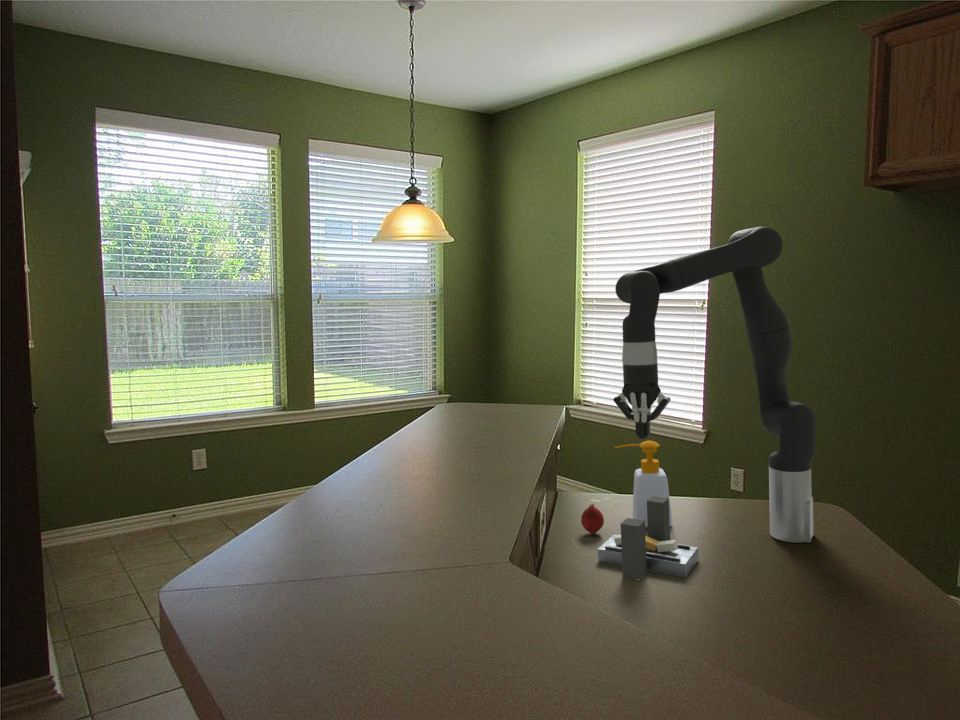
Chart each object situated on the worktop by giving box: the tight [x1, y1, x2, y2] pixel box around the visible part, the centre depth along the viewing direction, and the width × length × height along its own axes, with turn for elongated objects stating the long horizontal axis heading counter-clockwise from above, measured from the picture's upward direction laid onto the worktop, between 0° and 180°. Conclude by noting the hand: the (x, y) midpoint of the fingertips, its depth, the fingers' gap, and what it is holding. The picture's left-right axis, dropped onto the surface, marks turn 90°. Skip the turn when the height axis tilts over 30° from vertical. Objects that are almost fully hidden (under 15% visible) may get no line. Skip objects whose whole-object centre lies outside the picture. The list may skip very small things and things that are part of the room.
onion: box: [580, 503, 605, 535], centre depth 165 cm, size 6×6×8 cm
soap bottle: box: [614, 440, 673, 528], centre depth 170 cm, size 10×14×22 cm
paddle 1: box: [614, 534, 621, 545], centre depth 150 cm, size 4×2×2 cm, turn 56°
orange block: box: [645, 535, 659, 551], centre depth 146 cm, size 4×2×2 cm, turn 57°
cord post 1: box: [620, 517, 648, 581], centre depth 139 cm, size 4×4×12 cm
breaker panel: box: [597, 533, 699, 578], centre depth 147 cm, size 20×10×4 cm, turn 57°
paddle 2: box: [656, 539, 679, 552], centre depth 144 cm, size 4×2×2 cm, turn 56°
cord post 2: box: [647, 496, 671, 541], centre depth 153 cm, size 4×4×12 cm
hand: (642, 438), depth 144 cm, fingers closed
